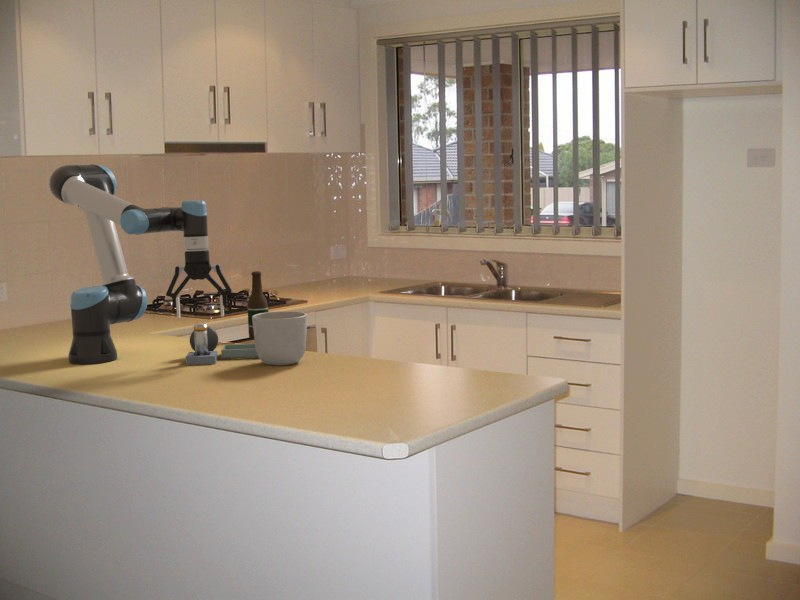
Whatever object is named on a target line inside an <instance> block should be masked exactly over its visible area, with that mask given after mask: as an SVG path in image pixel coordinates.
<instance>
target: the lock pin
mask: <svg viewBox="0 0 800 600" xmlns="http://www.w3.org/2000/svg"><path fill="white" fill-rule="evenodd" d="M207 326H208V324H207V323H195V324H193V331H194V338H195V351H194V352H195V356H204V355H208V340H207Z"/></svg>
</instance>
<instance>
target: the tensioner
mask: <svg viewBox="0 0 800 600" xmlns="http://www.w3.org/2000/svg"><path fill="white" fill-rule="evenodd" d="M207 340H208V355H204V356H195V338H194V330H193V331H192V333H191V334H190V336H189V345H190V347H191V349H192V350H193V351H189V352H188V353H187V354H186V356H185V365H186V366H195V365H196V364H201V365H215V364H216V363H217V361H218V359H219V358H218V350H216V348H217V346H218V343H219V335H218V333H217V331H216V330H215V329H214V328H213V327H211V326H208V325H207ZM217 358H218V359H217ZM214 363H215V364H214Z"/></svg>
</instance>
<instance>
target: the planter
mask: <svg viewBox="0 0 800 600" xmlns="http://www.w3.org/2000/svg"><path fill="white" fill-rule="evenodd" d="M252 321H253V330H254V339H253V340H254V344H255V347H256V352H257V355H258V357H259V358H258V359H259V360H260V361H261V362H263V363H264V364H266V365H269V366H274V367H275V366H279V367H280V366H289V365H290V366H291V365H294V364H296V363H298V362H299V361H300V360H301V359H302V358H303V357H304V355H305V352H306V348H307V329H308V328H307V326H308V314H307V313H306V312H303V311H295V310H292V311H289V310H287V311H286V310H283V311H280V310H278V311H268V312H266V313H259V314H255V315H253V316H252Z"/></svg>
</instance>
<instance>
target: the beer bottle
mask: <svg viewBox="0 0 800 600" xmlns="http://www.w3.org/2000/svg"><path fill="white" fill-rule="evenodd" d="M251 276H252V278H251V294H250V296H249V298H248V301H247V324H248V337H249V340H255V339H254V330H253V321H252V316H253V315H255V314H259V313H266V312H269V304H268V300H267V298H266V296H265V295H264V292H263V286H262V284H263V283H262V272H261V271H258V270H257V271H252V272H251Z"/></svg>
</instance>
